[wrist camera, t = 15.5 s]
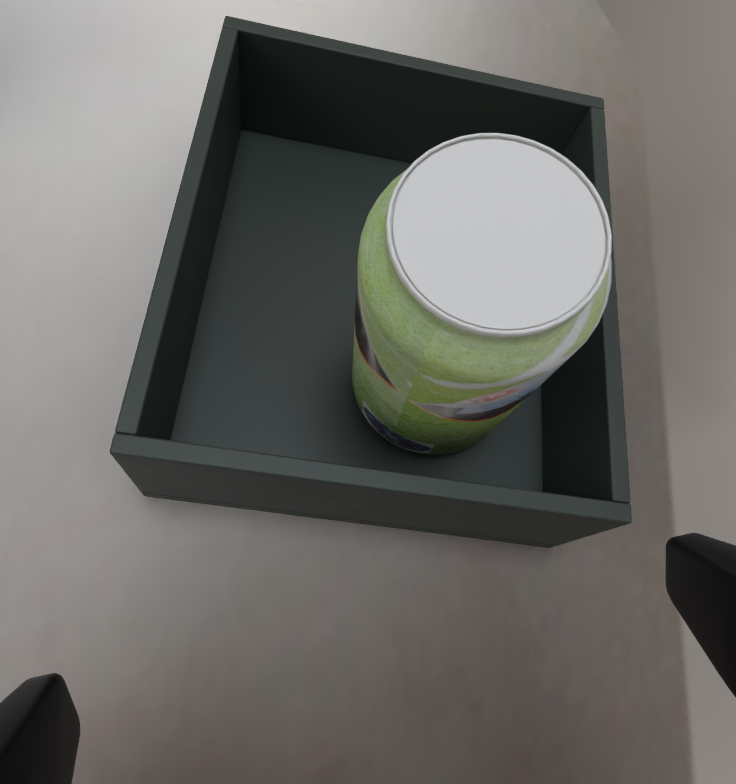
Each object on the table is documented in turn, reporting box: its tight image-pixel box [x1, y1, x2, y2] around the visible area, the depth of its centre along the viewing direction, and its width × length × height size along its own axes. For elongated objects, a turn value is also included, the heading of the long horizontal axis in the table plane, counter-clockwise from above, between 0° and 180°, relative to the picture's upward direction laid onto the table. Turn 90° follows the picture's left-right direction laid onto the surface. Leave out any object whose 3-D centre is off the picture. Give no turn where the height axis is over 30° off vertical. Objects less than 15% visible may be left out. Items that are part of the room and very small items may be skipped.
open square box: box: [110, 16, 632, 547], centre depth 23 cm, size 17×15×6 cm
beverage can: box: [352, 133, 612, 455], centre depth 19 cm, size 6×7×12 cm
